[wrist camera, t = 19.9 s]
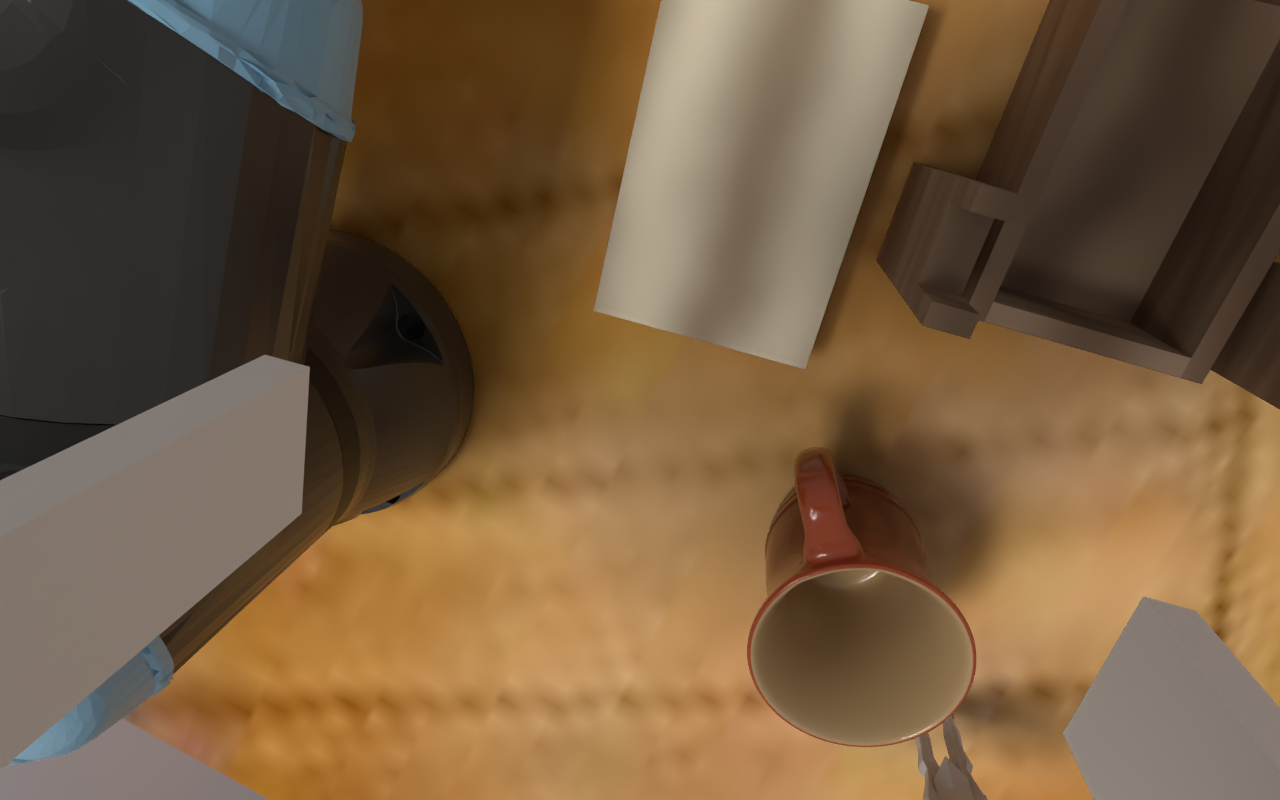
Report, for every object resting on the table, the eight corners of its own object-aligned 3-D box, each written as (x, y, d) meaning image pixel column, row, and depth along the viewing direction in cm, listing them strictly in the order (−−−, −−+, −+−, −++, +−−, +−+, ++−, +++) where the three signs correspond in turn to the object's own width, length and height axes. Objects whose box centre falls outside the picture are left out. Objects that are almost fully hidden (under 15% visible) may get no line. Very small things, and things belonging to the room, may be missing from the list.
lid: (607, 296, 37) (593, 310, 35) (682, -41, 32) (673, -57, 29) (802, 350, 37) (805, 369, 34) (915, 15, 31) (929, 5, 28)
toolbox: (873, 266, 34) (918, 334, 24) (1005, -82, 29) (1140, -200, 18) (1193, 357, 33) (1390, 471, 23) (1389, 14, 28) (1770, -51, 17)
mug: (940, 587, 39) (993, 736, 30) (775, 612, 41) (775, 758, 32) (897, 376, 36) (941, 468, 26) (719, 415, 38) (700, 513, 29)
